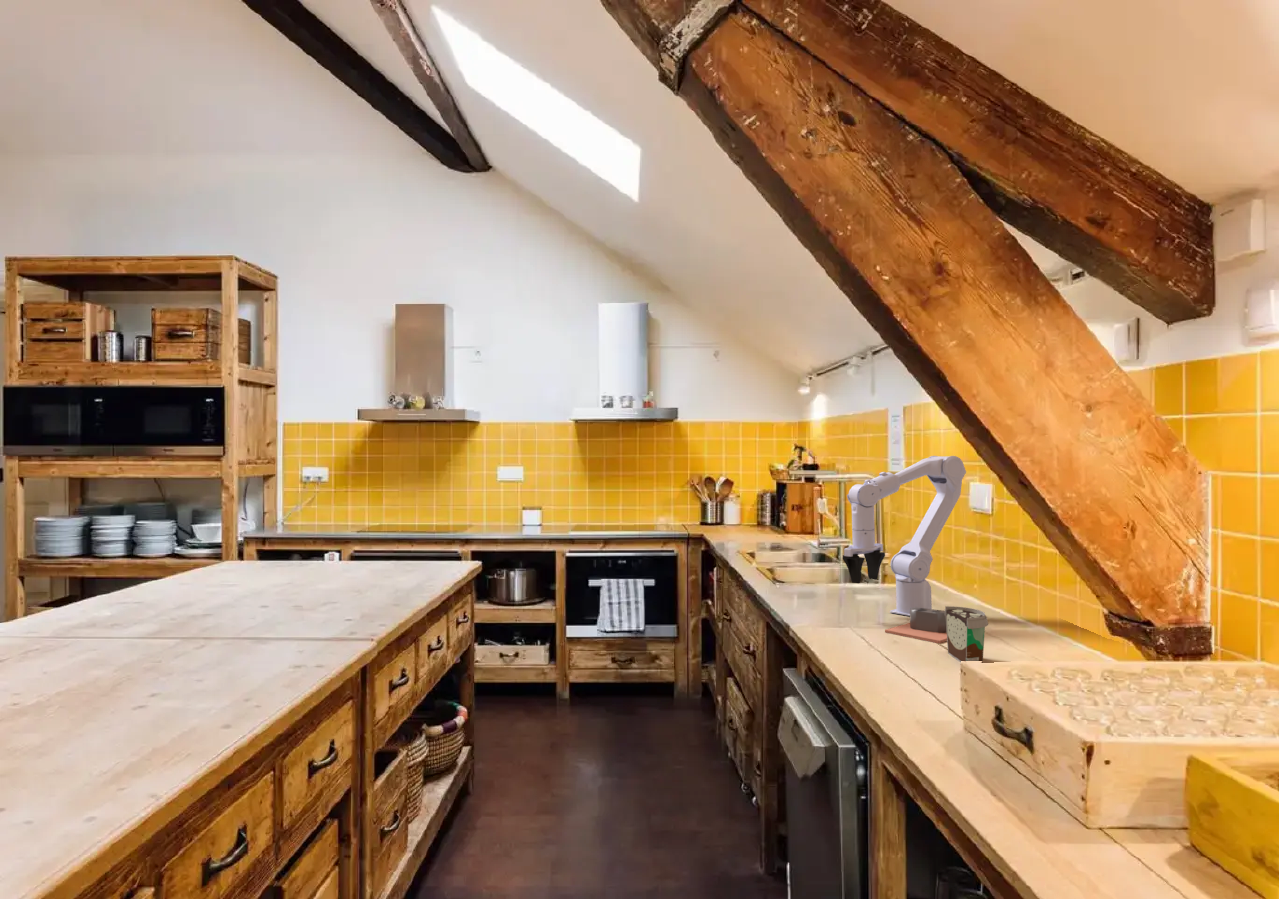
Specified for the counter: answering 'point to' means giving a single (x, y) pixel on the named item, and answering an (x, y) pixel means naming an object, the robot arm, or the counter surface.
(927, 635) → the mat
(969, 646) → the food container
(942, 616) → the plug
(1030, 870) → the counter surface
